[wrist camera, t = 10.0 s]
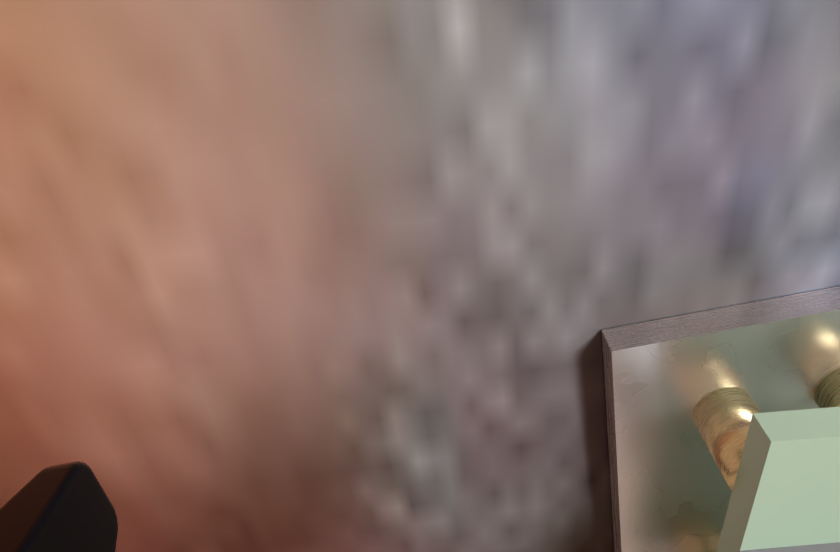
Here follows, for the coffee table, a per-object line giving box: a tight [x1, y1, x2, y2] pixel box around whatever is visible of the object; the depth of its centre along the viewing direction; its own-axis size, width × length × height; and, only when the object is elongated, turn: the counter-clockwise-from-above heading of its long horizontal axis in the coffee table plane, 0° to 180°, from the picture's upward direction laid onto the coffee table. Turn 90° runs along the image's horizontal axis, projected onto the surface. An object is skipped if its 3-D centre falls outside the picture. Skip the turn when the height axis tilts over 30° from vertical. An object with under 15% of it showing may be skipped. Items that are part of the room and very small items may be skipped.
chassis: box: [602, 286, 840, 552], centre depth 24 cm, size 14×10×4 cm
